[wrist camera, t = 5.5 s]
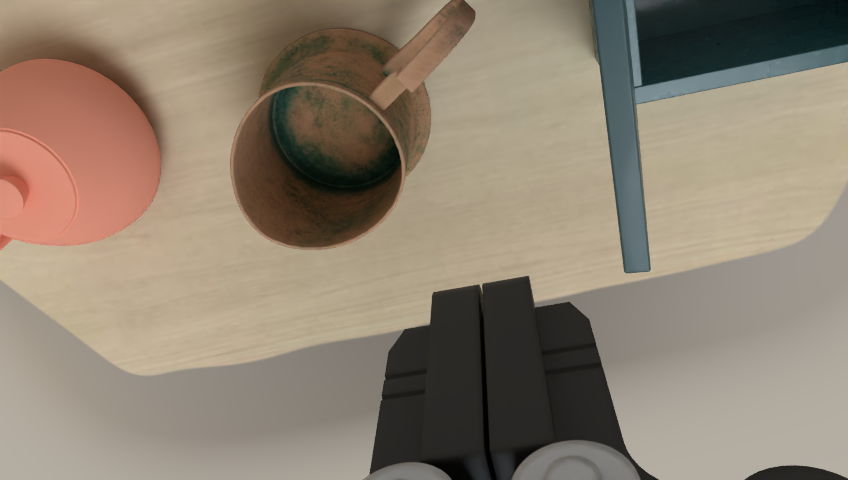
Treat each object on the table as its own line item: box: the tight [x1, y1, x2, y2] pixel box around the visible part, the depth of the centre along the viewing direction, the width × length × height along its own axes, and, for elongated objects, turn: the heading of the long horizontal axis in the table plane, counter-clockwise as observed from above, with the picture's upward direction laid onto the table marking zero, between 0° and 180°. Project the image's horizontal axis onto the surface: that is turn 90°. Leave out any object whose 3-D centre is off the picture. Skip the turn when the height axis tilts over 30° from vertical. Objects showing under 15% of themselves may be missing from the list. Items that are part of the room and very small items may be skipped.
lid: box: [592, 0, 651, 273], centre depth 26 cm, size 16×12×1 cm
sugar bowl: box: [0, 59, 161, 250], centre depth 45 cm, size 12×14×10 cm
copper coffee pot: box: [230, 0, 475, 250], centre depth 40 cm, size 12×18×12 cm, turn 137°
